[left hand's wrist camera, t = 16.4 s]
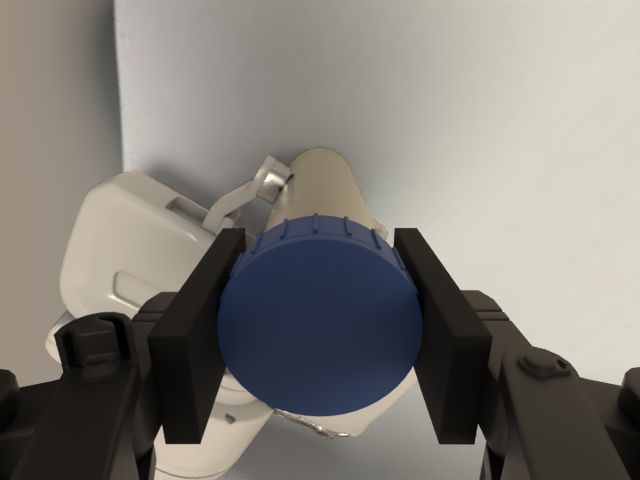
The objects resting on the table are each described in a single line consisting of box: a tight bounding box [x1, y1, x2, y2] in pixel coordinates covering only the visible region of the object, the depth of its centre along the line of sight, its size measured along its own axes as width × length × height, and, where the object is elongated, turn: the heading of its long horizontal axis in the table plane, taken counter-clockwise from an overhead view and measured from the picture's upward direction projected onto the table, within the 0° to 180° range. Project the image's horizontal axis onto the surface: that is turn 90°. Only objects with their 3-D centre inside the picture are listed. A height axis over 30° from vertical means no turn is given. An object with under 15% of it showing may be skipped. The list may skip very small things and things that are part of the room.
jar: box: [263, 148, 375, 233], centre depth 19 cm, size 4×4×18 cm
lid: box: [217, 213, 423, 417], centre depth 11 cm, size 5×5×2 cm
